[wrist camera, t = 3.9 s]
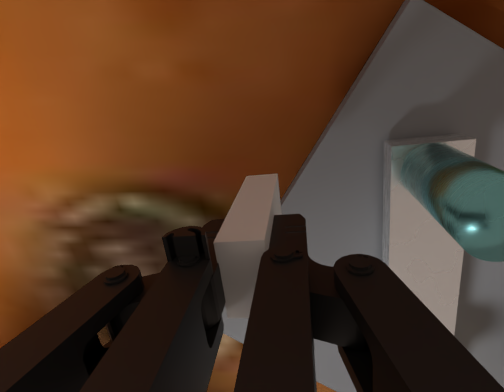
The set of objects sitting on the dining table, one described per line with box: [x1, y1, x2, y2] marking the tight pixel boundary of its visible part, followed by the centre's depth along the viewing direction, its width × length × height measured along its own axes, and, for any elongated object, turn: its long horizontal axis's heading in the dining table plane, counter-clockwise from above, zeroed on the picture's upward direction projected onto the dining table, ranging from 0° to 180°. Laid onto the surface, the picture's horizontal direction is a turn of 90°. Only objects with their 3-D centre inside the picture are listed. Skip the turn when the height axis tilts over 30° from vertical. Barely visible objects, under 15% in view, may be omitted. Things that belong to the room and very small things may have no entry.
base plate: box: [222, 0, 504, 392], centre depth 22 cm, size 25×29×2 cm
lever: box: [382, 133, 504, 335], centre depth 17 cm, size 19×5×8 cm, turn 7°
